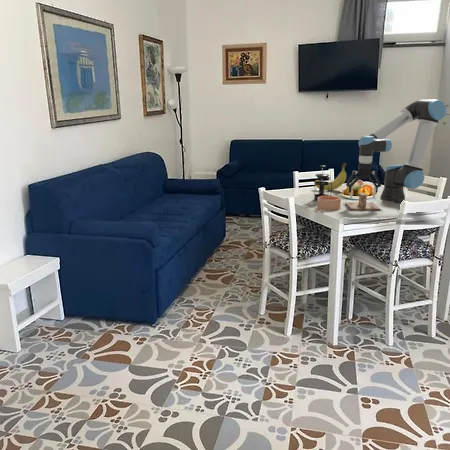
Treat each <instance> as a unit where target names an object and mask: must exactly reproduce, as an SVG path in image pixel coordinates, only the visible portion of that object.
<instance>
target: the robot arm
mask: <svg viewBox="0 0 450 450" xmlns="http://www.w3.org/2000/svg"><path fill="white" fill-rule="evenodd" d="M446 114H447V106H446V105H445V103H444V101H443V100H441V99H435V98H434V99H433V98H431V99H423V98H422V99H418V100H416V101H414V102H412V103H410V104H408V105H406V106H405V107H404V108H402V109H401V110H400V113H398V114H397V115H396V116H394V117H393V118H391V119H390V120H389V121H386V123H385V124H383V125H382V126H380V127H379V128H378V129H376V130H375V131H373V132H372V133H370V134H369V135H363V136H361V138H360V139H359V140H358V147H359V153H358V154H359V156H358V165H357V171H356V170H352V172H351V175H350V176H349V178H348V180H347V182H346V183H345V185H346V187H348V193H349V199H353V190H354V187H353V186H354V185H355V184H356V183H357V182H358V181H359V180H360V179H368V180H369V181H370V182H371V183H372V185H373V189H372V190H373V191H372V192H373V193H372V199H376V196H377V195H376V194H377V193H378V191H379V190H378V189H379V188H380V187H382V184H381V181H380V178H379V176H378V171H377V170H372V166H373V154H374V153H386V152H389V151H391V150H392V146H393V142H392V140H391V139H390V138H388V137H389V136H391V135H392V134H394V133H396V132H397V131H399V129H401V128H403V127H404V126H405V125H406V124H408V123H409V124H410V123H412V122H413V121H416V120H417V122H418V126H417V129H416V133H415V136H414V139H413V143H412V145H411V149H410V151H409V155H408V158H407V161H406V162H405V163H403V164H388V165H386V166H385V173H384V186H383V190H382V191H381V195H380V200H383V201H385V202H386V201H387V202H394V203H402V202H401V201H403V200H406V196H405V195H406V194H405V191H404V188H406V189H414V190H415V189H418V188H419V187H421V186H422V185H423V184H424V181H425V173H424V172H423V170H424V167H423V162H424V158H425V155H426V153H427V149H428V147H429V143H430V140H431V138H432V134H433V130H434V128H435V126H437V125H438V124H439V122H440V120H443V118H444V117H445V115H446ZM355 175H356V177H355ZM371 175H373V176H374V178H375V181H374V179H373V178H372V176H371ZM354 177H355V179H354ZM403 202H404V201H403Z"/></svg>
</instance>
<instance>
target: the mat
mask: <svg viewBox="0 0 450 450" xmlns="http://www.w3.org/2000/svg"><path fill="white" fill-rule="evenodd" d="M342 205H343V206H344V207H345V209H346V210H347V212H351V211H350V209H349V208H348V207H347V206H346V204H345V203H342ZM379 212H383V210H382V209H381V208H380V211H379Z"/></svg>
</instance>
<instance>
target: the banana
mask: <svg viewBox="0 0 450 450" xmlns="http://www.w3.org/2000/svg"><path fill="white" fill-rule="evenodd" d="M346 166H347V163H345V162H343V163H342V165H341V167H342V168H341V172H339V174H338V176H337V177H336V178H335V179H334V180H332V181H330V182H331V183H332V191H334V190H337V189H339V188H340V187H341V186H342V185H344V183H345V182H346V180H347V172H346V170H345V167H346ZM316 181H319V179H315V180H314V181H313V184H314V187H315V188H317V189H319V187H320V185H315V182H316ZM331 183H329V191H331ZM324 190H328V185H324Z"/></svg>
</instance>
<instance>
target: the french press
mask: <svg viewBox="0 0 450 450" xmlns="http://www.w3.org/2000/svg"><path fill="white" fill-rule="evenodd" d="M319 167H321V173H315V176H316V178H317V180H318V181H316V182H315V184H314V186H315V185H320V187H319V188H318V189H314V193H313V194H314V196H313V197H314V198H313V201H314V202H317V200H318V197H320V196H332V194H330V195H329V194H326V193H329V191H330V193H332V191H333V190H332V183H331V181H325V180H327V179H329V176H330V174H328V173H327V174H326V173H324V171H323V170H324V167H326V165H319ZM329 183H331V190H329ZM324 185H328V190H324Z"/></svg>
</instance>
